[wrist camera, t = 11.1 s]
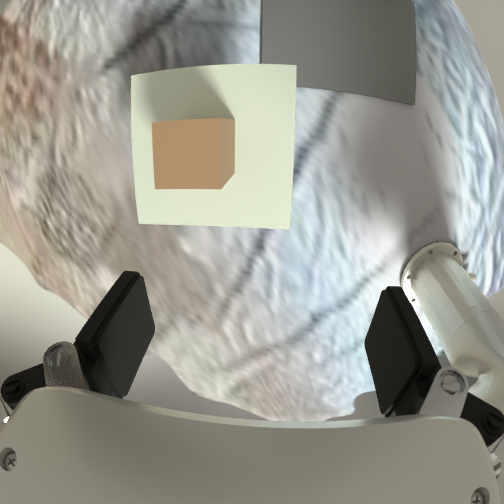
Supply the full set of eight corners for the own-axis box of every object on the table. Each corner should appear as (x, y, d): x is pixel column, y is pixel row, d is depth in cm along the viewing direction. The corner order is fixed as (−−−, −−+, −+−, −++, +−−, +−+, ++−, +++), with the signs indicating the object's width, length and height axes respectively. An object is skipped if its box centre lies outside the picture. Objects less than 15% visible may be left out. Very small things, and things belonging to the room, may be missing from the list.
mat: (412, 2, 22) (413, 2, 21) (412, 105, 30) (414, 105, 29) (262, -24, 23) (262, -25, 22) (261, 85, 31) (261, 84, 30)
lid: (295, 67, 20) (302, 46, 13) (289, 225, 26) (292, 261, 20) (136, 76, 21) (93, 67, 14) (143, 220, 27) (107, 250, 21)
